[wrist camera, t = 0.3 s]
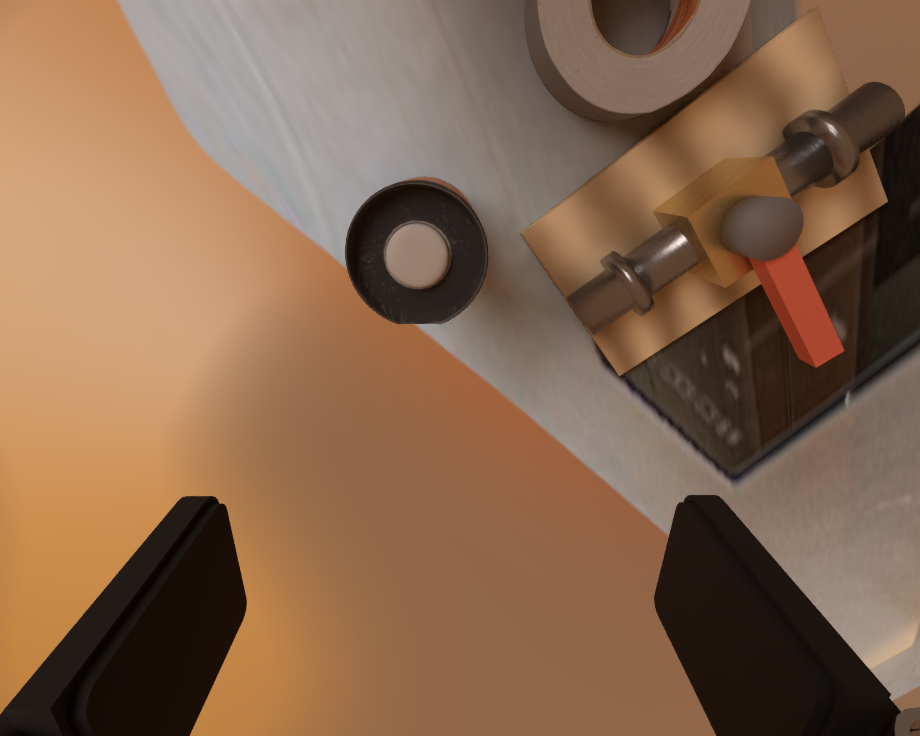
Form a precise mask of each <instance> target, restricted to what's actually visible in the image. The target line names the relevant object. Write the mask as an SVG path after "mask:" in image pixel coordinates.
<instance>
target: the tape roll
mask: <svg viewBox="0 0 920 736" xmlns="http://www.w3.org/2000/svg"><path fill="white" fill-rule="evenodd" d="M750 2H751V0H670V10H669V16H668V21H667V24H666V27H665V30H664V32H663V35H662V37H661V38H660V40H659V42H658V44H657V45H656V46H655V48H654V49H653V50H652V51H651V53H650V54H647V55H640V56H636V55H629V54H625V53H623V52H621V51H619V50H617V49H615V48H614V47H612V46H611V45H610V44H609V43H608V42H607V41H606V40H605V39H604V38H603V36H602V35H601V33H600V32H599V30H598V28H597V25H596V23H595V20H594V17H593V13H592V5H591V0H526V11H525V26H526V37H527V42H528V47H529V51H530V55H531V58H532V61H533V64H534V66H535V68H536V71H537V73H538V75H539V77H540V78H541V80H542V82H543V83H544V85H545V86H546V88H547V89H548V90H549V92H550V93H551V94H552V95H553V96H554V98H555V99H557V100H558V101H559V102H560V103H561V104H562V105H563V106H565V107H566V108H568V109H569V110H571V111H572V112H574V113H576V114H578V115H580V116H583V117H586V118H589V119H593V120H598V121H621V120H626V119H631V118H634V117H637V116H640V115H643V114H647V113H651V112H654V111H656V110H659V109H661V108H663V107H665V106H667V105H669V104H671V103H673V102H674V101H676V100H678V99H680V98H681V97H683V96H685V95H686V94H688V93H689V92H690V91H692V90H693V89H694V88H696V87H697V86H698V85H699V84H700V83H702V82H703V81H704V80H705V79H706V78H707V77H708V76H710V75H711V73H712V72H713V71H714V70H715V68H716V67H717V66H718V65H719V63H720V62H721V61H722V60H723V59H724V58H725V56H726V55H727V54H728V52H729V50H730V49H731V47H732V46H733V44H734V42H735V40H736V37H737V35H738V33H739V31H740V29H741V27H742V24H743V22H744V19H745V17H746V14H747V11H748V8H749V5H750Z"/></svg>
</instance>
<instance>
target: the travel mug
mask: <svg viewBox="0 0 920 736" xmlns="http://www.w3.org/2000/svg"><path fill="white" fill-rule="evenodd" d="M345 259H346V265H347V270H348V273H349V277H350V279H351V281H352V284H353V286H354V288H355V289H356V291H357V293H358V294H359V296H360V297H361V298H362V299H363V301H364V302H365V303H366V304H367V305H368V306H369V307H370V308H372V310H374V311H375V312H376V313H377V314H379V315H381V316H382V317H383V318H385V319H387V320H389V321H391V322H393V323H396V324H428V323H436V324H442V323H444V322H447V321H449V320H450V319H452V318H454V317H455V316H457V315H458V314H459V313H461V312H462V311H463V310H464V309H465V308H467V307H468V305H469V304H470V303H471V302H472V301H473V300H474V298H475V297H476V295H477V294H478V292H479V290H480V288H481V286H482V284H483V282H484V279H485V276H486V271H487V266H488V246H487V240H486V236H485V233H484V229H483V227H482V225H481V223H480V220H479V219H478V217H477V215H476V214H475V212H474V210H473V209H472V207H471V205H470V204H469V202H468V200H467V199H466V198H465V196H464V195H463V194H462V193H461V192H460V191H459V190H458V189H457V188H455V187H454V186H452V185H451V184H449V183H447V182H445V181H443V180H440V179H437V178H432V177H416V178H412V179H408V180H405V181H402V182H398V183H395V184H392V185H390V186H387V187H385V188H383V189H381V190H379V191H378V192H376V193H375V194H374V195H372V196H371V197H370V198H369V199H368V200H367V201H366V202H365V203H364V204H363V205H362V206H361V207H360V209H359V210H358V211H357V213H356V214H355V216H354V218H353V220H352V222H351V224H350V227H349V230H348V234H347V238H346V246H345Z"/></svg>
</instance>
